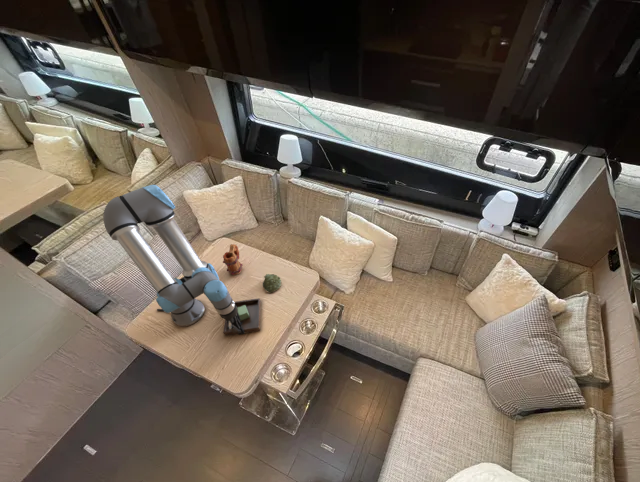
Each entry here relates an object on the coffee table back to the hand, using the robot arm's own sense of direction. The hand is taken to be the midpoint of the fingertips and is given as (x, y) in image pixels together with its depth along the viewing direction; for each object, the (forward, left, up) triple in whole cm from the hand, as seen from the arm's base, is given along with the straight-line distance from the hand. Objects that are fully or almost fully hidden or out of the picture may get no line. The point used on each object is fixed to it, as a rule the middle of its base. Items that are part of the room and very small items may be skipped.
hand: (241, 332), depth 136 cm
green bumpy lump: (+14, +29, -2) cm, 32 cm away
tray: (0, +9, -2) cm, 10 cm away
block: (0, +10, -1) cm, 11 cm away
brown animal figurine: (-6, +45, -2) cm, 46 cm away
